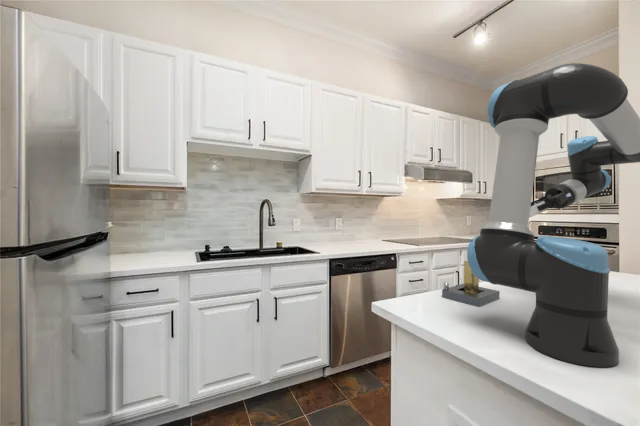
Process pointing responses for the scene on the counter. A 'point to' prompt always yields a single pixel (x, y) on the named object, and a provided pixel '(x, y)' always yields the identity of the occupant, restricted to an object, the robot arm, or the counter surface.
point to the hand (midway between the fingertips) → (511, 217)
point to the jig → (470, 295)
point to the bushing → (470, 280)
